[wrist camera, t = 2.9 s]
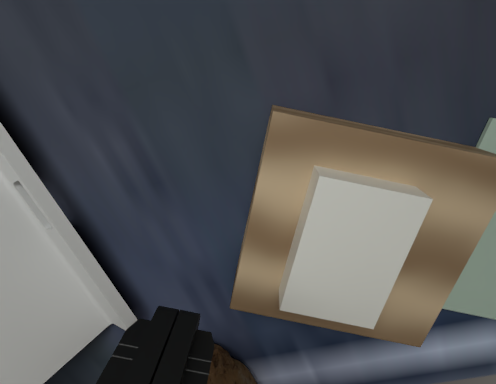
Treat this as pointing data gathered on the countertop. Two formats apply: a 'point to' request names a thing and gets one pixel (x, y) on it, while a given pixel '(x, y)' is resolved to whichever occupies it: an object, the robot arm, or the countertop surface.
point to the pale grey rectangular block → (350, 246)
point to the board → (377, 166)
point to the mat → (479, 260)
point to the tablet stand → (45, 279)
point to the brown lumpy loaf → (227, 369)
